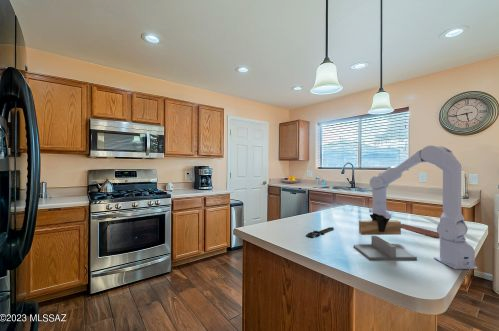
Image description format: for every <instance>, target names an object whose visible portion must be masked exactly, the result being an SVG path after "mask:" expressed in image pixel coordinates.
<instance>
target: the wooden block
mask: <svg viewBox="0 0 499 331" xmlns="http://www.w3.org/2000/svg"><path fill="white" fill-rule="evenodd" d="M401 224H402V222H401V221H400V220H397V219H396V220H395V219H393V220H392V219H390V220H389V221H388V223H387V225H386V228H385V231H384V232H379V228H378V222H377V220H372V219H370V220H359V221H358V232H359V233H358V234H360V235H362V236H382V235H383V236H384V235H385V236H387V235H388V236H390V235H393V236H394V235H395V236H396V235H397V236H398V235H399V236H400V235H402V230H401V229H402V228H401Z"/></svg>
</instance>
